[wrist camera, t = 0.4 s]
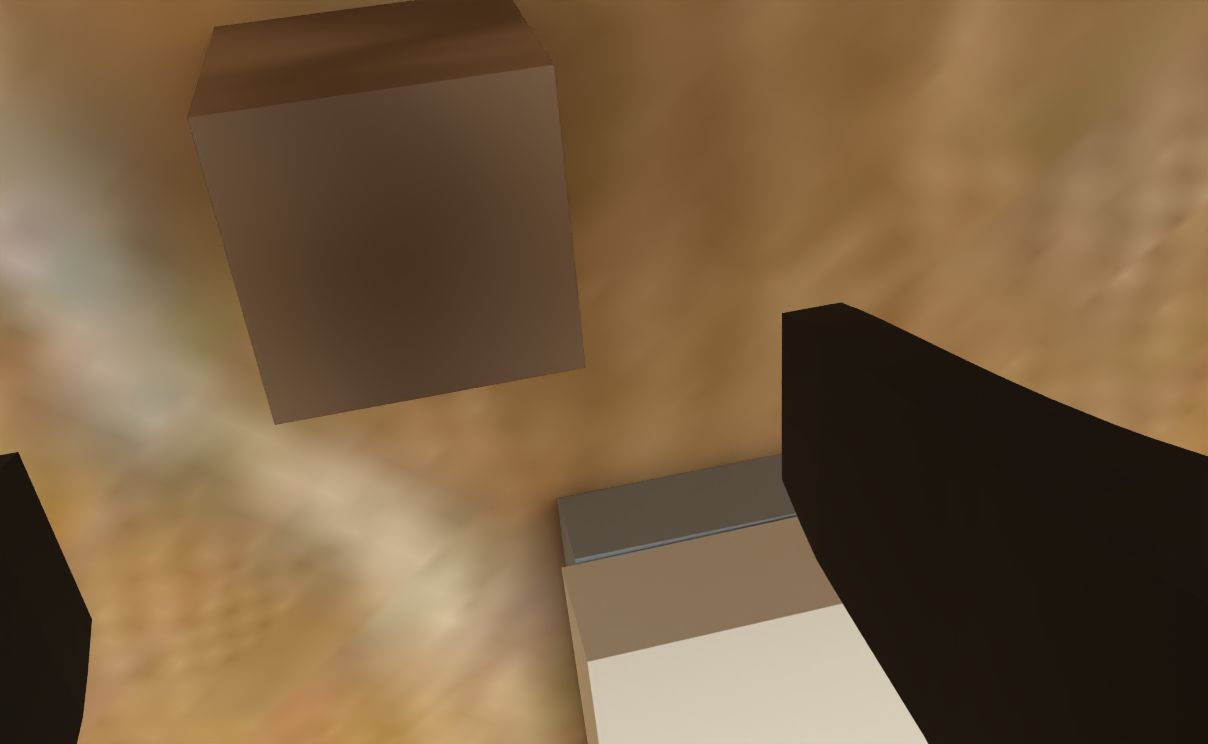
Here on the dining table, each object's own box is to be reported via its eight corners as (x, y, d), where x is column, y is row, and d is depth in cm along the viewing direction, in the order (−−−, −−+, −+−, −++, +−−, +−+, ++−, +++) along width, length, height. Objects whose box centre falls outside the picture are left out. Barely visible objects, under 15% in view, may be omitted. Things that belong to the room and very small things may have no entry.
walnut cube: (503, -13, 18) (553, 64, 14) (535, 242, 20) (585, 367, 17) (215, 25, 17) (188, 117, 14) (282, 285, 20) (274, 424, 16)
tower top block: (950, 483, 23) (1013, 564, 21) (920, 799, 28) (969, 889, 26) (561, 567, 22) (587, 662, 20) (608, 879, 27) (632, 979, 25)
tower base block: (907, 412, 25) (962, 478, 23) (883, 721, 30) (926, 798, 28) (552, 483, 24) (575, 559, 22) (592, 791, 29) (613, 876, 27)
